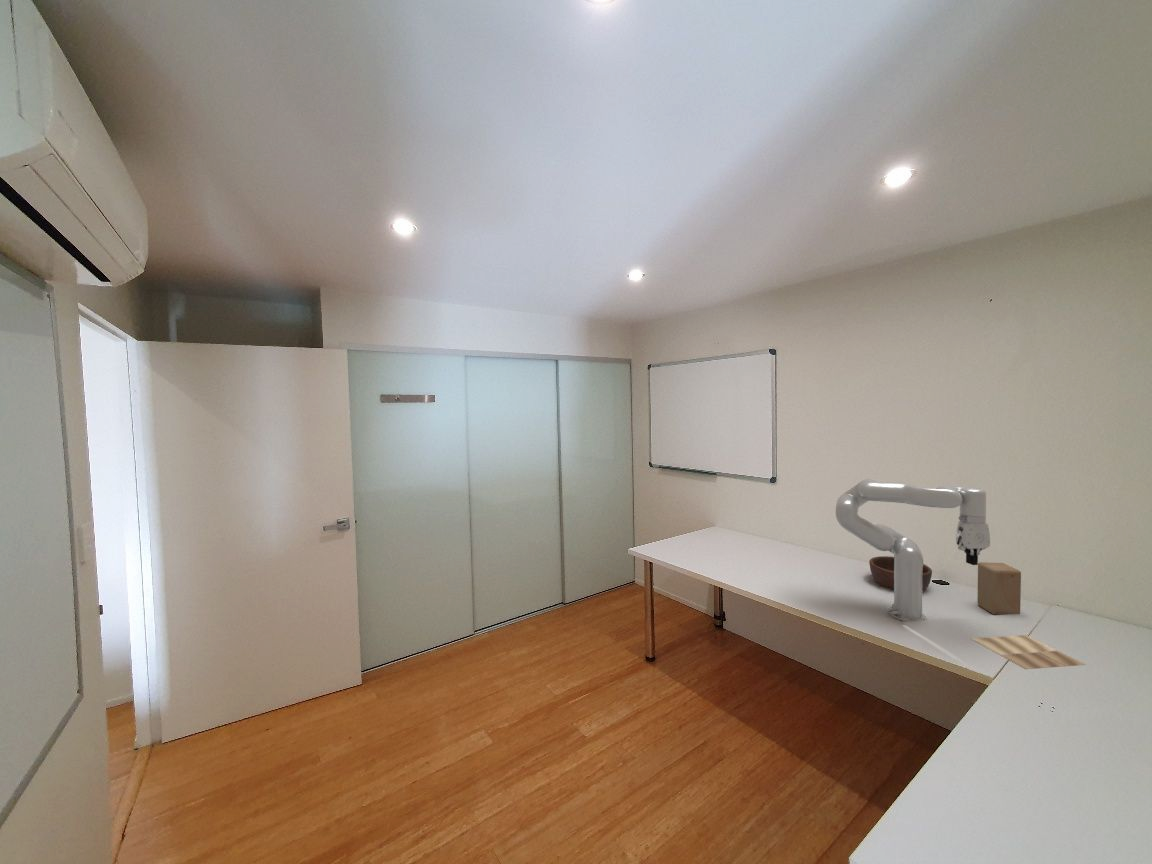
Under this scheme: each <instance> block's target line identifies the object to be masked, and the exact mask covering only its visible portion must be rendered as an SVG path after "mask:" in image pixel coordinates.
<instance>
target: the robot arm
mask: <svg viewBox="0 0 1152 864" xmlns="http://www.w3.org/2000/svg"><path fill="white" fill-rule="evenodd" d="M867 502H880V503H881V502H883V503H896V504H897V503H898V504H905V505H913V506H919V507H920V506H921V507H925V508H926V507H928V508H939V509H940V508H941V509H954V508H957V507H959V516H958V520H959V521H958V523H957V527H956V534H955V543H956V545H957V549H958V550H959V551H963V553H965V563H967V564H969V565H972V566H978V563H979V555H980V554H981V551H983V550H986V549H987V548H990V546H991V535H990V534H991V533H990V529H989V524H988V522H986V521H987V518H986V517H987V516H986V515H987V492H986V491H985V489H982V488H978V487H961V486H954V485H947V484H946V485H945V484H944V485H939V486H937V487H935V488H925V487H918V486H914V485H912V484H908V483H905V482H904V483H903V482H885V481H884V482H883V481H876V480H874V479H871V478H867V479H865V478H864V479H862V480H861V481H859V482H858V483H857V484H855V485H854V486H853V487H850V488H849V489H848V490H847V491H845V492H844V493H843V494H841V495H840V496H839V497H838V499H837V501H836V506H835V518H836V520H837V522H838V524H839V525H840V526H841V528H843V529H844V530H846V531H847V532H848V533H851V534H852V535H854V536H855V537H857V538H858V539H860V540H861V541H863V542H865V543H867V544H868V545H869V546H871V547H873V548H874V549H876V550H879V551H882V552H887V551H888V552H890V553H892V554H893V557H894V590H893V602H894V603H891V606H890V607H883V612H884V613H889V614H890V616H892V617H893V618H895V619H896V618H897V620H898V621H901V620H902V622H915V621H916V622H917V621H919V622H920V621H927V620H928V617H927V616H926V615H925V614H923V591H922V574H923V564H924V557H923V553H922V551H921V549H920V547H919V545H918V543H916V542H915V541H914V540H912V539H910V538H909V537H908V536H905V535H903V534H901V533H900V532H898V531H896V530H894V529H893V528H890V527H889V526H888V525H884V524H877V523H876V524H874V523H871V522H870V521H869V520H867V519H865V518H862V516H860V515H859V514H858V512H859V508H860V507H861V506H863V505H865V504H866V503H867Z"/></svg>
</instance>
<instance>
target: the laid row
mask: <svg viewBox="0 0 1152 864" xmlns="http://www.w3.org/2000/svg"><path fill="white" fill-rule="evenodd" d="M1000 656H1001V657H1003V658H1004V659H1006V660H1008V661H1010V662H1011V663H1013V664H1015V665H1017V666H1019V667H1021V668H1023V669H1024V670H1033V669H1045V668H1046V669H1047V668H1059V667H1060V668H1061V667H1072V666H1073V667H1074V666H1086V665H1087V664H1086V663H1084V662H1082V661H1080V660H1078V659H1076V658H1073V657H1072V656H1071V655H1070V656H1069V655H1068V654H1065V653H1063V652H1062V651H1059V650H1057V651H1044V652H1030V653H1016V654H1002V655H1000Z"/></svg>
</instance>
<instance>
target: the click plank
mask: <svg viewBox="0 0 1152 864" xmlns="http://www.w3.org/2000/svg"><path fill="white" fill-rule="evenodd" d="M971 640H972V641H974V642H975V643H977V644H978V645H980V646H983V647H985V648H986V649H988V650H990V651H992V652H993V653H995V654H996V655H999V656H1001V655H1008V654H1022V653H1036V652H1050V651H1058V650H1057V649H1055V648H1053V647H1051V646H1050V645H1047V644H1045V643H1043V642H1040V641H1039V640H1037V639H1034V638H1032V637H1031V636H1029V635H1026V634H1021V635H1007V636H1004V635H1003V636H990V637H979V638H978V637H977V638H971Z"/></svg>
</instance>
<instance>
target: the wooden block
mask: <svg viewBox="0 0 1152 864" xmlns="http://www.w3.org/2000/svg"><path fill="white" fill-rule="evenodd" d="M1021 572H1022V571H1020V570H1019V569H1016V568H1014V567H1013V566H1010V565H1008V564H1005V563H1003V562H984V561H983V562H982V561H980V562H978V565H977V606H979V607H980V608H982V609H984V610H985V611H987V612H989V613H990V614H992V615H993V616H1004V615H1005V616H1006V615H1007V616H1009V615H1021V599H1022V598H1021V596H1022V595H1021V594H1022V573H1021Z"/></svg>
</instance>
